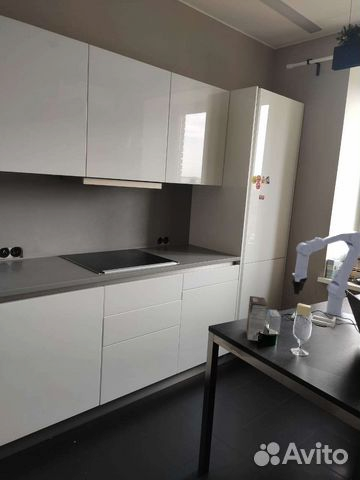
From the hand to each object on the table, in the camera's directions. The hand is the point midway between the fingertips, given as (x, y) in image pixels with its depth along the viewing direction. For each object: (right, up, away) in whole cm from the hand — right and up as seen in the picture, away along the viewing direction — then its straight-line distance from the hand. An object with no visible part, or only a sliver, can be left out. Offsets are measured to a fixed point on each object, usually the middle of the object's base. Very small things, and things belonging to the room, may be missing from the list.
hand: (298, 292), depth 184 cm
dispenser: (+8, -13, -10) cm, 18 cm away
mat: (0, -12, -5) cm, 13 cm away
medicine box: (-20, -14, -25) cm, 35 cm away
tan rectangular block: (0, -11, -6) cm, 13 cm away
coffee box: (-29, -14, -31) cm, 45 cm away
